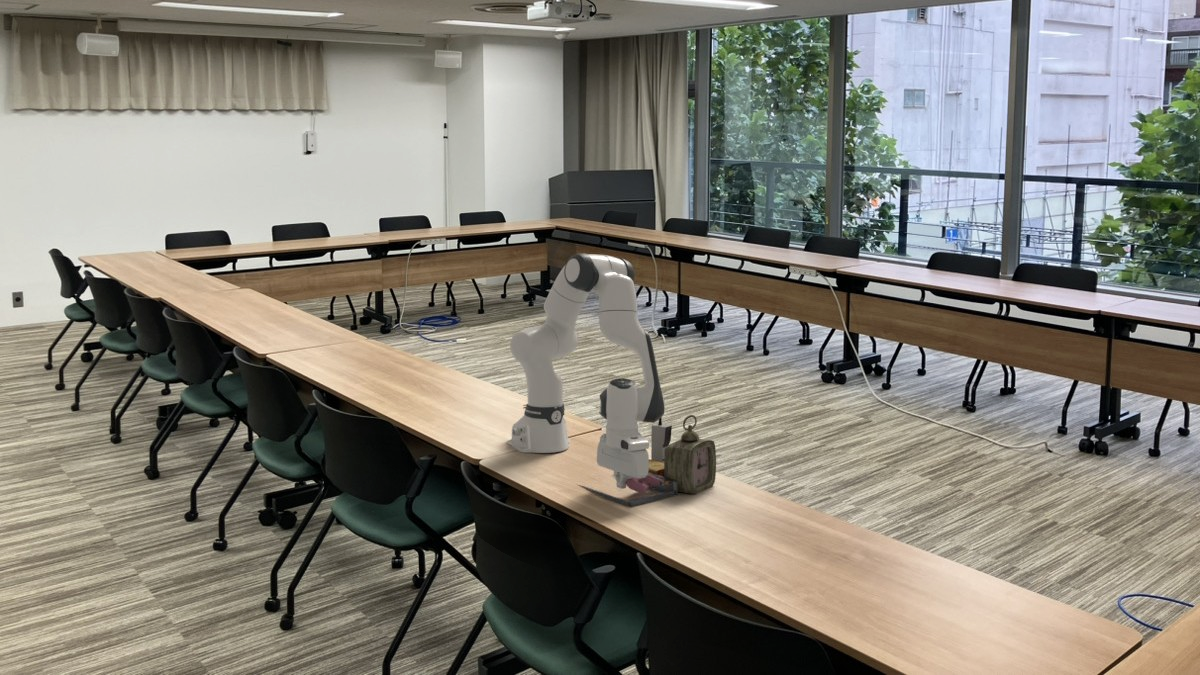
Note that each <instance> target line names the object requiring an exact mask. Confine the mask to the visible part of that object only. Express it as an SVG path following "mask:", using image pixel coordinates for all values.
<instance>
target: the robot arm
mask: <svg viewBox="0 0 1200 675" xmlns="http://www.w3.org/2000/svg"><path fill="white" fill-rule="evenodd" d="M634 280H635V269H634V267H633V265H632V263H631V262H630V261H628V260H627V259H624V258H622V257H615V256H612V255H606V254H595V253H591V254H590V253H585V252H582V253H581V252H580V253H575V254H572V255H570V256H569V257H568V259H567V261H566V263H565V265H564V266H563V267H562V268H561V270H560V272H559V273H558V275H557V276H556V278H555V280H554V282H553V284H552V286H551V288H550V291H549V292H548V295H547V296H546V299H545V301H544V303H543V310H544V312H545V314H546V319H545V321H544V323H543V324H542V325H539V326H531V327H526V328H524V329H522V330H520V331H518V332H516V333H515V334H513V335H512V337H511V340H510V342H509V343H510V346H509V347H510V352H511V355H512V357H513V358H514V359H515V360H516V361H518V363H519V364H520V365H521V368H522V369H523V372H524V375H525V378H526V385H527V386H526V387H527V394H526V395H527V403H526V404H523V405H522V406H523V409H524V412H523V416H522V417H521V418H520V419H517V421H516V422H515V423H514V424H512V427H511V439H510V440H508V441H506V443H508V444H509V445H510V446H511V447H513V448H514V449H516V450H517V451H518V452H520V453H526V454H527V453H536V454H550V453H557V452H558V453H559V452H562V451H565V450H566V451H567V450H568V449H569V445H570V444H571V440H570V439H569V437H568V427H567V426H568V425H567V420H566V418H565V417H564V416H565V411H566V410H565V403H564V400H563V399H564V398H563V397H564V393H563V392H564V390H563V387H564V386H563V385H564V384H563V378H562V377H561V376H560V374H558V373H556V371H555V369H554V365H553V360H556V359H562V358H564V357H566V356H568V355H570V354H571V353H573V352H574V351H575V350H576V349H577V347H578V343H579V339H578V338H579V337H578V334H577V331H576V323H577V321H578V317H579V316H580V313H581V311H582V309H583V307H584V305H585V303H586V301H587V299H588V297H589V295H590V294H591V292H593V293H595V294H596V295H597V296H598V299H599V300H598V321H599V322H598V323H599V329H600V332H601V334H602V335H603V337H604V338H605V339H606V340H608V341H609V342H611V343H612V344H615V345H617V346H620V347H623V348H624V349H627V350H630V351H631V352H634V353H635V354H636V355H637V356H638V357H639V358H638V359H639V360H640V364H641V370H642V375H643V380H644V386H641V387H639V386H638V387H637V383H636V382H635V381H634V380H632V379H629V378H625V377H624V378H623V377H622V378H621V377H619V378H615V379H612V380H610V381H609V382H608V386H607V388H605V389H604V390H603V391H602V392H601V393H600V394H599V399H600V402H599V403H600V404H599V412H598V413H599V415H600V416H601V417H602V418H603V419H605V420H607V422H606V424H605V433H603V434H601V436H600V437H599V442H598V445H597V450H596V463H597V465H598V466H599V467H602V468H604V469H608V470H610V471H613V476H614V479H615V481H616V488H619V489H622V490H624V489H626V488H627V485H626V481H627V480H628V478H629V476H631V477H634V478H637V479H638V478H645V477H646V476H647V475H648V471H649V459H650V458H649V452H648V449H649V448H650V441H649V440H647V439H646V438H645V436H643V434H641V433H640V432H639V425H638V422H642V423H650V424H652V423H654V424H655V423H656V422H657V421H659V419H660V418H661V417H662V418H663V416H664V415H665V411H666V403H665V397H664V395H663V390H662V387H661V382H660V377H659V372H658V367H657V360H656V357H655V350H654V346H653V342H652V338H651V337H650V333H649V332H648V331H647V330H645V329H643V327H642V325H641V323H640V320H639V315H638V300H637V292H636V287H635V284H634V283H635V282H634Z"/></svg>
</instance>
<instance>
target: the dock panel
mask: <svg viewBox="0 0 1200 675" xmlns="http://www.w3.org/2000/svg"><path fill="white" fill-rule="evenodd" d="M648 474H649V475H651V476H654V477H656V478H658V479H659V481H660V485H659V486H652V485H649V484H648V485H649V488H650V489H653V490H654V491H657V493H653V494H650V495H645V496H641V497H638V498H637V497H636V498H632V499H629V500H624V499H622V498H619V497H616V496H613V495H611V494H607V493H604V492H601V491H599V490H596V489H593V488H590V487H588V486H584V485H582V487H581V488H583V487H584V489H585V488H586V489H585V490H587V489H588V490H587V491H589V490H590V491H589V492H591V491H592V492H591V493H594V494H596V495H598V496H600V497H602V498H605V499H608V500H609V501H613V502H615V503H618V504H621V505H624V506H627V507H630V508H632V507H636V506H639V505H644V504H647V503H651V502H656V501H659V500H660V501H661V500H664V499H667V498H671V497H675V496H678V493H679V492H678V481H676V480H673V479H670V478H666V477H663V476H660V475H657V474H653V473H650V472H648Z"/></svg>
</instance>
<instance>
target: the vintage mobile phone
mask: <svg viewBox="0 0 1200 675" xmlns="http://www.w3.org/2000/svg"><path fill="white" fill-rule="evenodd" d="M662 419H663V416H662V417H661V418H660V419H659V420H658V423H654V424H652V425H651V436H650V437H651V442H650V443H651V446H650V447H651V448H650V449H651V450H650V451H651V455H650V457H651V459H650V460H654V461H658V462H662V463H664V454H665V448H666V447H667V446H668V445H669V444H671V440H672V431H673V429H672V428H673V426H672V425H671V424H666V423H663V421H662Z"/></svg>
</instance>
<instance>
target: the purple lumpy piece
mask: <svg viewBox="0 0 1200 675" xmlns="http://www.w3.org/2000/svg"><path fill="white" fill-rule="evenodd" d="M648 484H649V485H652V486H659V485H660V481H659V479H658V478H656V477H654V476H651V475H649V474H648V475H647V476H646V477H645V478H638V479H637V478H634V477H631V476H629V478H628V480H627V481H626V487H628V488H629V489H630V490H632V491H635V492H637V493H639V494H646V493H647V491H648V489H649V488H650V487H649V485H648Z"/></svg>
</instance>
